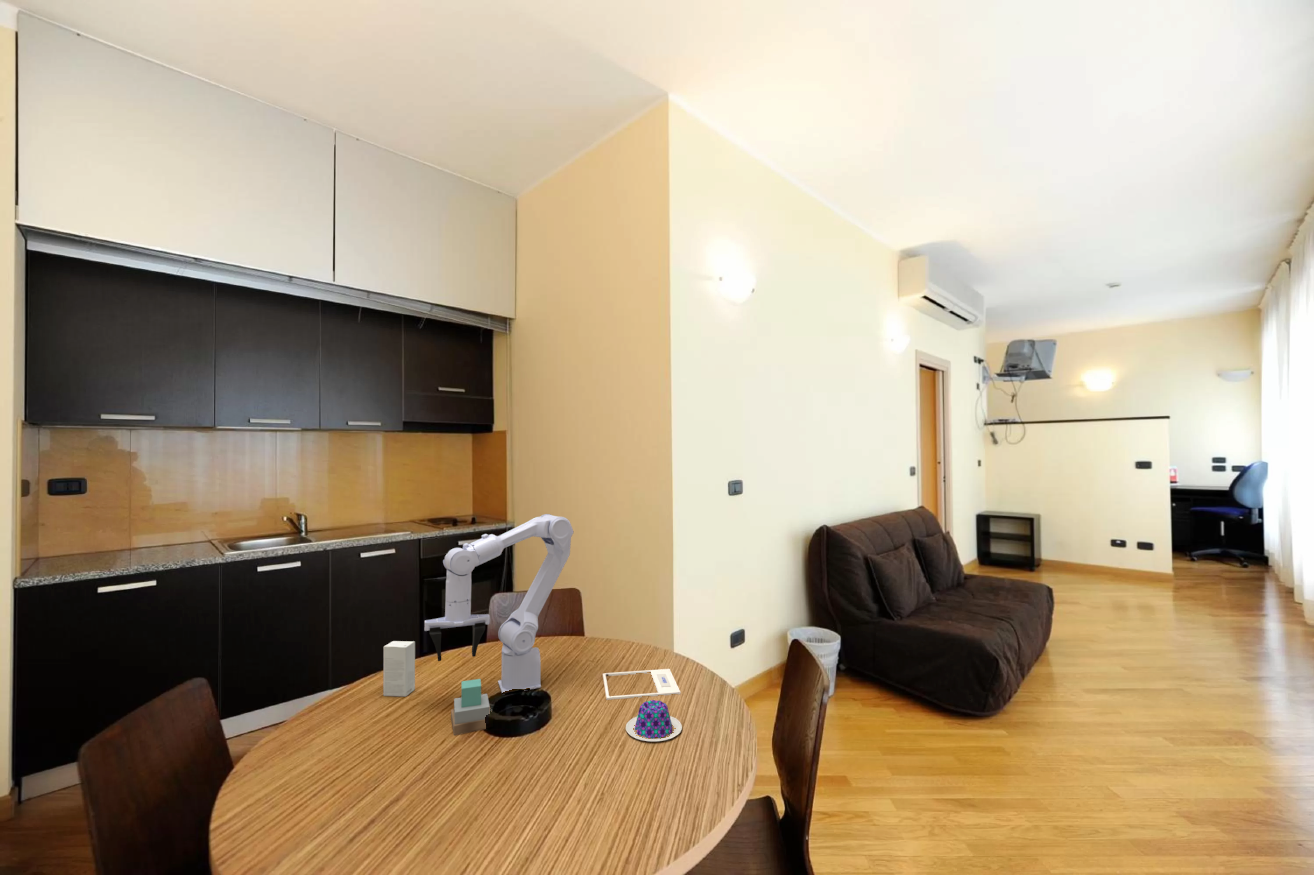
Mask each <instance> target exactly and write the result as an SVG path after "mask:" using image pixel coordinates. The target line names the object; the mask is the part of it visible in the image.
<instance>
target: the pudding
mask: <svg viewBox="0 0 1314 875" xmlns="http://www.w3.org/2000/svg"><path fill="white" fill-rule="evenodd" d="M634 725H635V726H634ZM672 725H673V726H674V728H676V729H674V731H673V728H672V727H673V726H672ZM633 728H634V730H633ZM682 729H683V725H682V723H681V722H680V720H679V719H678V718H676V717H674V716H671V715H670V710H669V707H668V705H667V703H665V702H663V701H662V700H654V699H651V700H646V701H644V702H642V704H640V706H639V709H638V712H637V715H636V716H634V717H632V718H631V719H630V720H628V722H626V725H625V731H626V732H627V733H628V735H629V736H631V737H632V738H635V739H636V740H640V741H646V742H662V741H669V740H670V739H673V738H674V737H676V736H678V735H679V734H680V733H681V732H682V731H683V730H682ZM636 730H637V731H636ZM634 731H636V732H634ZM672 732H674V733H672ZM635 733H636V734H635ZM671 733H672V734H671ZM667 734H668V735H667ZM636 735H641V737H639V736H636ZM669 735H670V736H669ZM665 736H666V738H661V737H665ZM667 736H669V737H667ZM642 737H643V738H642ZM655 737H658V738H655ZM645 738H647V739H645ZM648 738H651V739H648ZM660 738H661V739H660Z"/></svg>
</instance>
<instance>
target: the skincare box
mask: <svg viewBox="0 0 1314 875" xmlns="http://www.w3.org/2000/svg"><path fill="white" fill-rule="evenodd" d="M415 675H416V641H414V640H413V641H407V640H406V641H403V640H402V641H401V640H393V641H390V642H388V644H386V645H384V646H383V677H382V678H383V679H382V680H383V686H382V688H383V690H382V691H383V696H384V697H407V696H408V695H410V694H411V693H413V691H415V690H416V685H415V684H416V676H415Z"/></svg>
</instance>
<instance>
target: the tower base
mask: <svg viewBox="0 0 1314 875" xmlns="http://www.w3.org/2000/svg"><path fill="white" fill-rule="evenodd" d="M450 713H451V714H450V720H451V726H452V733H453V736H458V735H462V734H468V733H473V732H478V731H483V730H487V729H486V723H485V719H484V720H478V721H473V722H467V723H461V724H455V720H454V708H453V709H451V710H450Z"/></svg>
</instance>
